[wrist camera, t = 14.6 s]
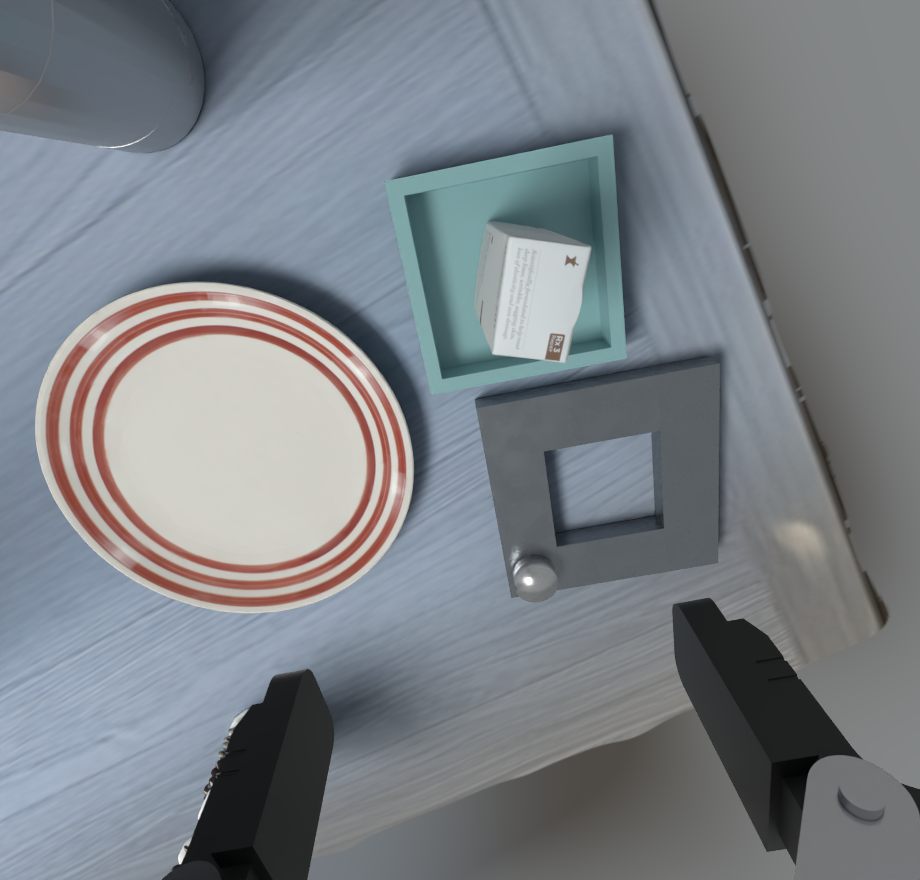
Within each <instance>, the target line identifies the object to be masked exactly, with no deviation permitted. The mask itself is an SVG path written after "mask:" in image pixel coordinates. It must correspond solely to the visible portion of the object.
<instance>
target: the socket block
mask: <svg viewBox="0 0 920 880" xmlns="http://www.w3.org/2000/svg"><path fill="white" fill-rule="evenodd" d="M475 403H476V409H477V414H478V420H479V425H480V430H481V436H482V441H483V447H484V452H485V457H486V463H487V468H488V474H489V479H490V484H491V490H492V495H493V501H494V506H495V511H496V517H497V522H498V528H499V533H500V538H501V544H502V549H503V555H504V560H505V565H506V571H507V576H508V582H509V587H510V592H511V598H513V597H521V598H522V599H524V600H526V601H529V602H541V601H544V600H547V599H548V598H550V597H551V596H552V595H554V593H555V592H556V590H561V589H567V588H573V587H579V586H585V585H591V584H596V583H602V582H608V581H614V580H620V579H626V578H632V577H638V576H644V575H650V574H656V573H662V572H668V571H674V570H680V569H686V568H692V567H697V566H703V565H709V564H715V563H718V517H719V419H720V363H719V362H717V361H715V360H713V359H712V358H710V357H708V356H706V357H701V358H695V359H690V360H684V361H679V362H674V363H668V364H663V365H658V366H652V367H647V368H641V369H636V370H631V371H625V372H620V373H615V374H609V375H604V376H598V377H593V378H588V379H582V380H577V381H572V382H566V383H561V384H555V385H550V386H545V387H539V388H534V389H529V390H523V391H518V392H512V393H507V394H502V395H496V396H491V397H486V398H480V399H475ZM649 432H652V452H653V474H654V496H655V516H651V517H645V518H639V519H634V520H628V521H622V522H616V523H611V524H605V525H599V526H593V527H587V528H582V529H576V530H570V531H564V532H559V533H555V531H554V523H553V516H552V509H551V501H550V494H549V487H548V479H547V472H546V464H545V457H544V451H549V450H555V449H561V448H566V447H572V446H577V445H583V444H588V443H594V442H599V441H605V440H610V439H616V438H622V437H627V436H633V435H638V434H644V433H649Z"/></svg>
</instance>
